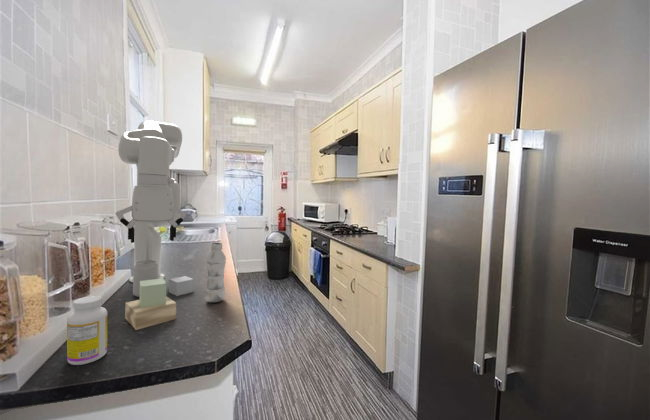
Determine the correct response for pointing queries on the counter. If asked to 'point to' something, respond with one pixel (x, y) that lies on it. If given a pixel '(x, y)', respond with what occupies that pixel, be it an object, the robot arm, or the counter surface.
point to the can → (143, 274)
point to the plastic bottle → (215, 274)
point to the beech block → (149, 313)
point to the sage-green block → (152, 292)
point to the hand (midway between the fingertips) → (152, 241)
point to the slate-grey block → (180, 285)
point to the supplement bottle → (86, 331)
